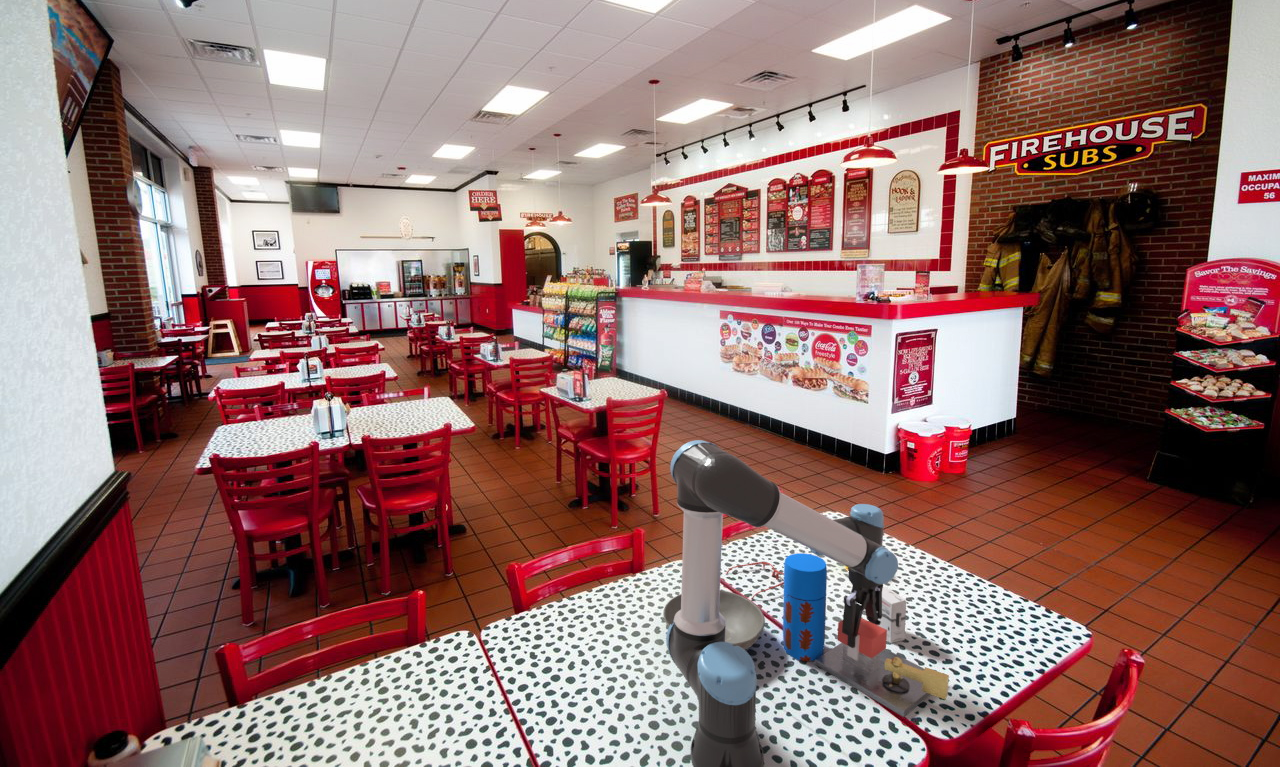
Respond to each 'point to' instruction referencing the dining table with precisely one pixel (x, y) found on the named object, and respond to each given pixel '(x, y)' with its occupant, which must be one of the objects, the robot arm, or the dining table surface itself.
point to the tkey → (919, 677)
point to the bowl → (730, 618)
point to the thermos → (804, 606)
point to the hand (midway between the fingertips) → (861, 651)
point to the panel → (874, 678)
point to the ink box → (893, 615)
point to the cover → (867, 638)
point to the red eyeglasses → (763, 568)
